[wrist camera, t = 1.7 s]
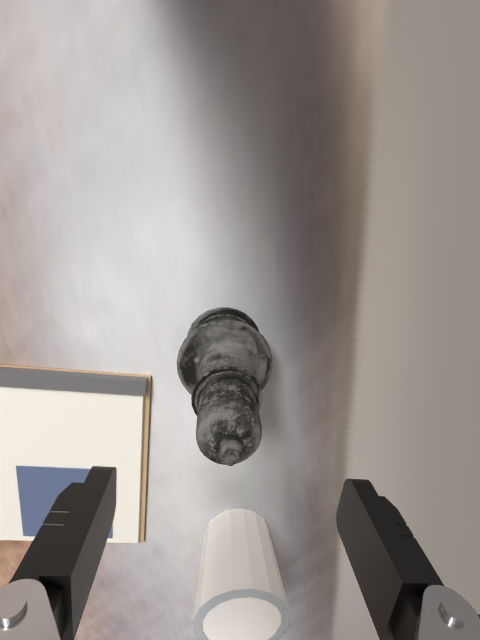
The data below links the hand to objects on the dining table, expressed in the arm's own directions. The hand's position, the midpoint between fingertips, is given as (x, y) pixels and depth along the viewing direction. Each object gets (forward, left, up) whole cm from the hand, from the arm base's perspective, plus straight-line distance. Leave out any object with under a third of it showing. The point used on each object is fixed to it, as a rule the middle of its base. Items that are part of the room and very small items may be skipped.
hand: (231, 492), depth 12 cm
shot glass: (+18, +3, -13) cm, 22 cm away
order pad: (+11, -11, -13) cm, 20 cm away
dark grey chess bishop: (0, 0, -13) cm, 13 cm away
